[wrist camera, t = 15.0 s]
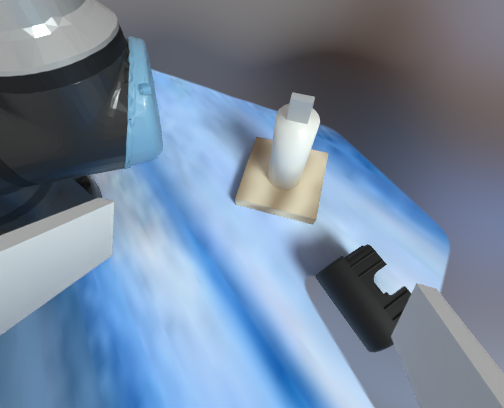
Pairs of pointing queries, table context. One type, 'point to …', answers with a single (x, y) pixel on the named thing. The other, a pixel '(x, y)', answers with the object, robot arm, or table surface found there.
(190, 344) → the table surface
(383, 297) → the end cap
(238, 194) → the oak board
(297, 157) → the white bottle
